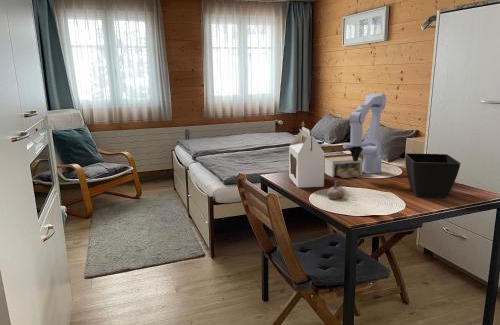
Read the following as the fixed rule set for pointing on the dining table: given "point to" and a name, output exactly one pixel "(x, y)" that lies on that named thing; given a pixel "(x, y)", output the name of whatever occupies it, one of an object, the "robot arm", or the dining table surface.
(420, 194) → the flower pot
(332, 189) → the garlic bulb
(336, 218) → the dining table surface
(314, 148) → the gable box
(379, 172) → the robot arm
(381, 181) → the dining table surface
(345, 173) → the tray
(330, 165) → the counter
